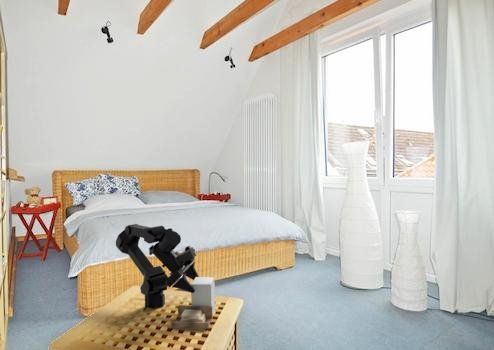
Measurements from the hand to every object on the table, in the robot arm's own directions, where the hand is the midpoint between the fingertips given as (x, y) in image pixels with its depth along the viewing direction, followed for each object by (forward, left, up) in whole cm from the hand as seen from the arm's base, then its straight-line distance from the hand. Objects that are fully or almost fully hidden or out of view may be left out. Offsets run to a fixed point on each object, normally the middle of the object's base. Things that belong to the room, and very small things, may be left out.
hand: (197, 286), depth 120 cm
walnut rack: (0, -8, -10) cm, 13 cm away
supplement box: (+2, 0, -10) cm, 11 cm away
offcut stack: (0, -8, -9) cm, 12 cm away
